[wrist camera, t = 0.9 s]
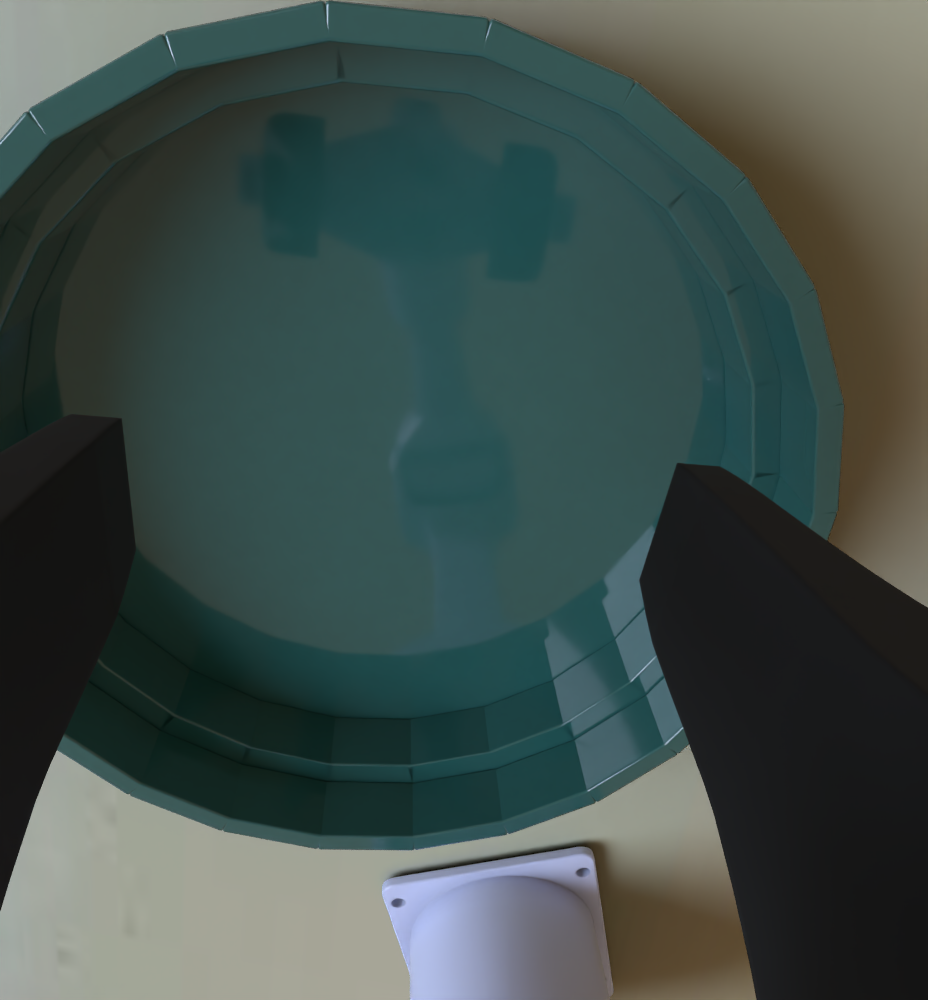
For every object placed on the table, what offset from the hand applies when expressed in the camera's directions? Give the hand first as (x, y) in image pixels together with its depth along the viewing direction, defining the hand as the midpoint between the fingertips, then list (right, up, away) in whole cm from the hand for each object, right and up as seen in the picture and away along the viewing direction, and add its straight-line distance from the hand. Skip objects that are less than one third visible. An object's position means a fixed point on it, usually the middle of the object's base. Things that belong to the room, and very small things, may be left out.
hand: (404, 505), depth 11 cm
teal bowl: (-1, +1, +12) cm, 12 cm away
